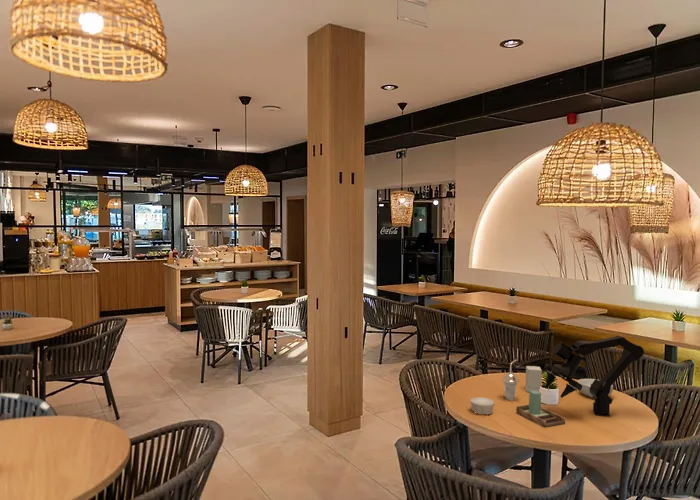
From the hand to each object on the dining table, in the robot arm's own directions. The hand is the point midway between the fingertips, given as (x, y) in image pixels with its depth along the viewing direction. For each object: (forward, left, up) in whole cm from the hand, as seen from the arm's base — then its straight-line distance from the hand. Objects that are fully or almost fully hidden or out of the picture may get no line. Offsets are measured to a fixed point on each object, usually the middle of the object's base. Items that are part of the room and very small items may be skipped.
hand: (553, 392), depth 248 cm
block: (+9, +5, -9) cm, 14 cm away
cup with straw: (+19, -15, -11) cm, 27 cm away
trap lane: (+6, +8, -10) cm, 15 cm away
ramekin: (+32, +8, -11) cm, 35 cm away
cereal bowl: (-24, -35, -11) cm, 44 cm away
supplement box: (+7, -33, -11) cm, 36 cm away
